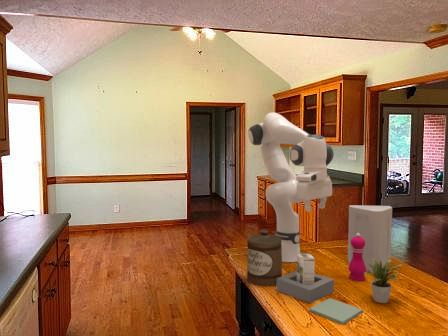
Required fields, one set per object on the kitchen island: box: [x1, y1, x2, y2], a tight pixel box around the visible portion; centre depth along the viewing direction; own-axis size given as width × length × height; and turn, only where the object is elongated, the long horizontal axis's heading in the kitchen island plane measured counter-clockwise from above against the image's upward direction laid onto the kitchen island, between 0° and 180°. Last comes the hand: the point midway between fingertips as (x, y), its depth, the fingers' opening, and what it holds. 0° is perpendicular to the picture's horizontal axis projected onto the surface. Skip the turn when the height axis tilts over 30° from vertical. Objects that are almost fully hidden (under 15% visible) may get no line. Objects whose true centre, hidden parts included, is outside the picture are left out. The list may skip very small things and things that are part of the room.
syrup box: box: [296, 253, 316, 285], centre depth 149 cm, size 6×6×14 cm
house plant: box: [364, 257, 402, 304], centre depth 139 cm, size 14×14×16 cm
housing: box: [276, 270, 335, 304], centre depth 149 cm, size 16×16×5 cm
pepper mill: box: [348, 233, 367, 282], centre depth 162 cm, size 7×7×20 cm
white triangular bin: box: [347, 204, 393, 273], centre depth 177 cm, size 19×15×28 cm
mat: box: [308, 297, 364, 326], centre depth 131 cm, size 13×13×1 cm
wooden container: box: [246, 228, 283, 287], centre depth 161 cm, size 15×15×22 cm
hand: (315, 209), depth 151 cm, fingers open, 8 cm apart
